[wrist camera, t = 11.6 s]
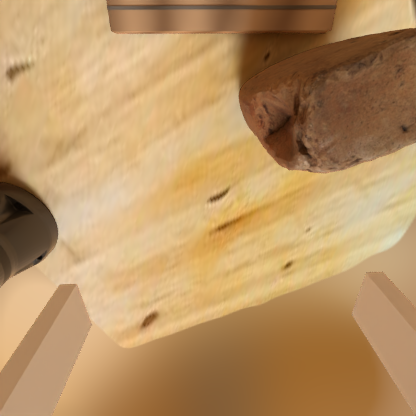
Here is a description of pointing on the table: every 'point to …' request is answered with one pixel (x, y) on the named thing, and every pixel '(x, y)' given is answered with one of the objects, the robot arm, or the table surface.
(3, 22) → the table surface
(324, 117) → the brown pitted rock
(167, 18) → the board
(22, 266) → the robot arm
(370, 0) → the table surface
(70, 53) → the table surface
